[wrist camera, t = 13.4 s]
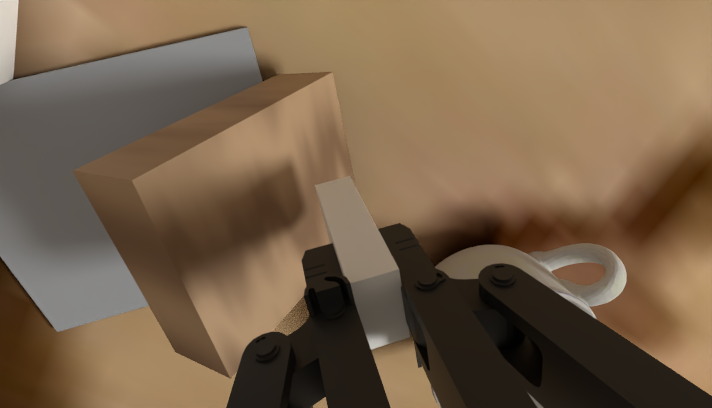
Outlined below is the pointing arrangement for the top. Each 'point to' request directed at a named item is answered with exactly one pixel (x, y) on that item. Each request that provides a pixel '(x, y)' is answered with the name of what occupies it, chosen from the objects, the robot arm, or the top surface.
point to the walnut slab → (224, 211)
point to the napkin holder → (7, 38)
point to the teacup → (545, 271)
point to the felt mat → (85, 144)
